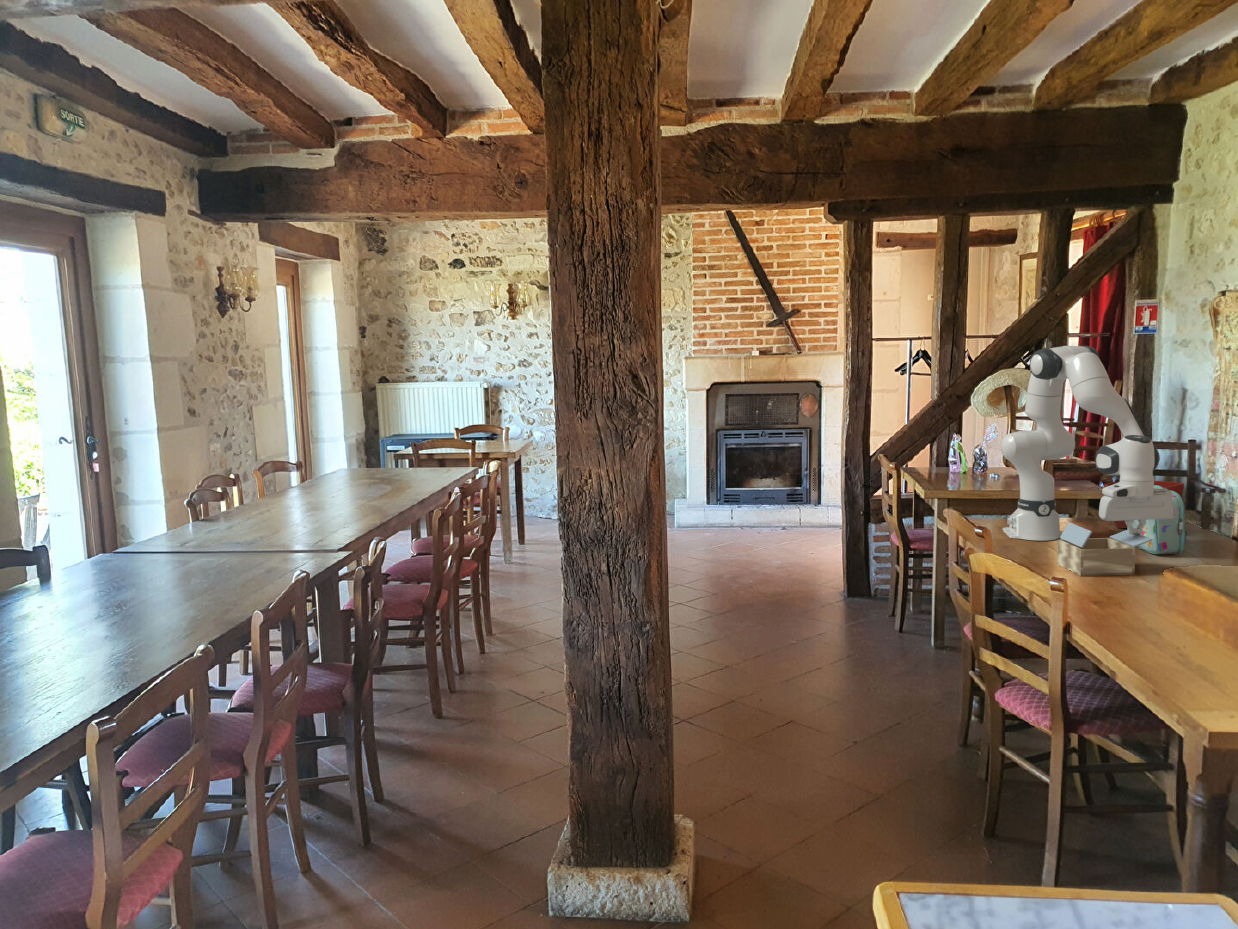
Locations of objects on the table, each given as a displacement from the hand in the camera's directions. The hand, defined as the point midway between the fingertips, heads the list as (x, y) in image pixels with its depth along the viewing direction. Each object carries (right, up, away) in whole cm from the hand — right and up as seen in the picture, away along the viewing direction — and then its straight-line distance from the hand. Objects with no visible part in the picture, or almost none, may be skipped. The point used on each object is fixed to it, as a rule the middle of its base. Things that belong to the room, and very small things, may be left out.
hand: (1135, 534), depth 252 cm
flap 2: (-4, -3, 0) cm, 5 cm away
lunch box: (+21, -7, +23) cm, 32 cm away
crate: (-11, -11, +2) cm, 16 cm away
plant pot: (+37, -3, +55) cm, 66 cm away
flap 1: (-19, -3, +1) cm, 19 cm away
